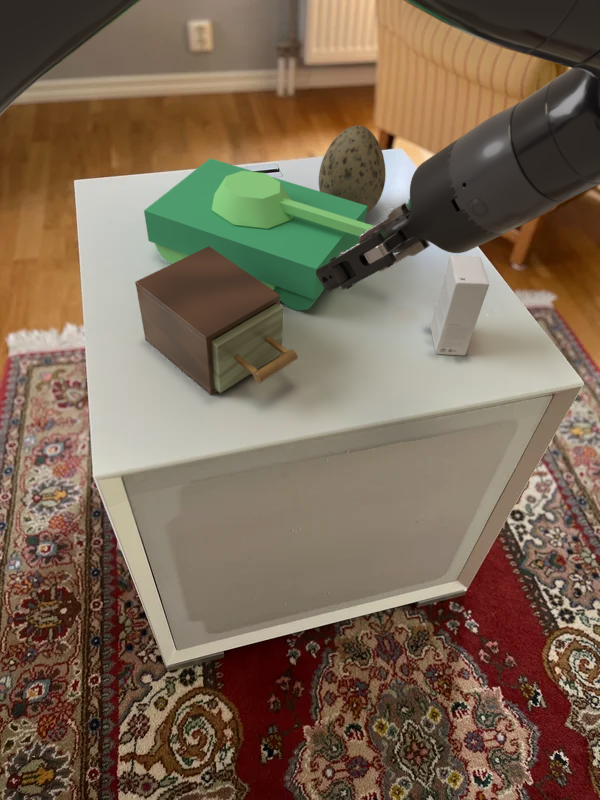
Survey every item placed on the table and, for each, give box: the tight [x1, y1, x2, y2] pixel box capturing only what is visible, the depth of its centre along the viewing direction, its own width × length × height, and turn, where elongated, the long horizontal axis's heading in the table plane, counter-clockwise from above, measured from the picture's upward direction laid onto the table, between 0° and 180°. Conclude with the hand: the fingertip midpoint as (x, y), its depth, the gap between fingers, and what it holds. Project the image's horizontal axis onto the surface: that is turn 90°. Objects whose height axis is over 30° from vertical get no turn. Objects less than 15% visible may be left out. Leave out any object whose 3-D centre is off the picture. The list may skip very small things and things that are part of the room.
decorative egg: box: [318, 124, 387, 214], centre depth 103 cm, size 11×11×15 cm
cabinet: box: [134, 246, 281, 396], centre depth 81 cm, size 14×12×10 cm
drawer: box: [211, 303, 299, 394], centre depth 79 cm, size 17×10×8 cm, turn 45°
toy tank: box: [143, 157, 374, 312], centre depth 93 cm, size 18×12×35 cm
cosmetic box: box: [430, 254, 490, 356], centre depth 83 cm, size 6×4×12 cm
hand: (352, 260), depth 59 cm, fingers open, 8 cm apart
